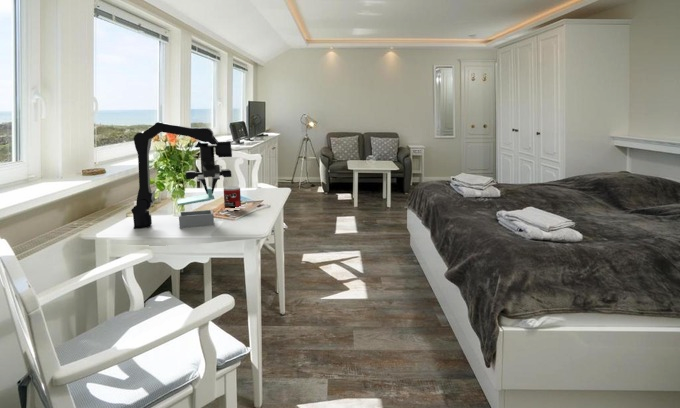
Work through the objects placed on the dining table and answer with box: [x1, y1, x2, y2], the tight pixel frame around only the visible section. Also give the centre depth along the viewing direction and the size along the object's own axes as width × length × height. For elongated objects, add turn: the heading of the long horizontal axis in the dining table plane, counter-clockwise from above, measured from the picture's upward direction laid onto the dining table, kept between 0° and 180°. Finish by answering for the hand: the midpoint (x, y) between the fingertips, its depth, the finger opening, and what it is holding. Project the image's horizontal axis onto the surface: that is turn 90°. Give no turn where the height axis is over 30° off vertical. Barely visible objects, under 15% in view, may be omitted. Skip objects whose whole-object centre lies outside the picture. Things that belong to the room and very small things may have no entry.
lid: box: [176, 186, 215, 207], centre depth 203 cm, size 15×10×5 cm, turn 107°
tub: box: [178, 209, 215, 229], centre depth 205 cm, size 14×9×5 cm, turn 108°
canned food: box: [223, 186, 242, 209], centre depth 232 cm, size 8×8×11 cm
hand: (209, 193), depth 205 cm, fingers closed on lid
